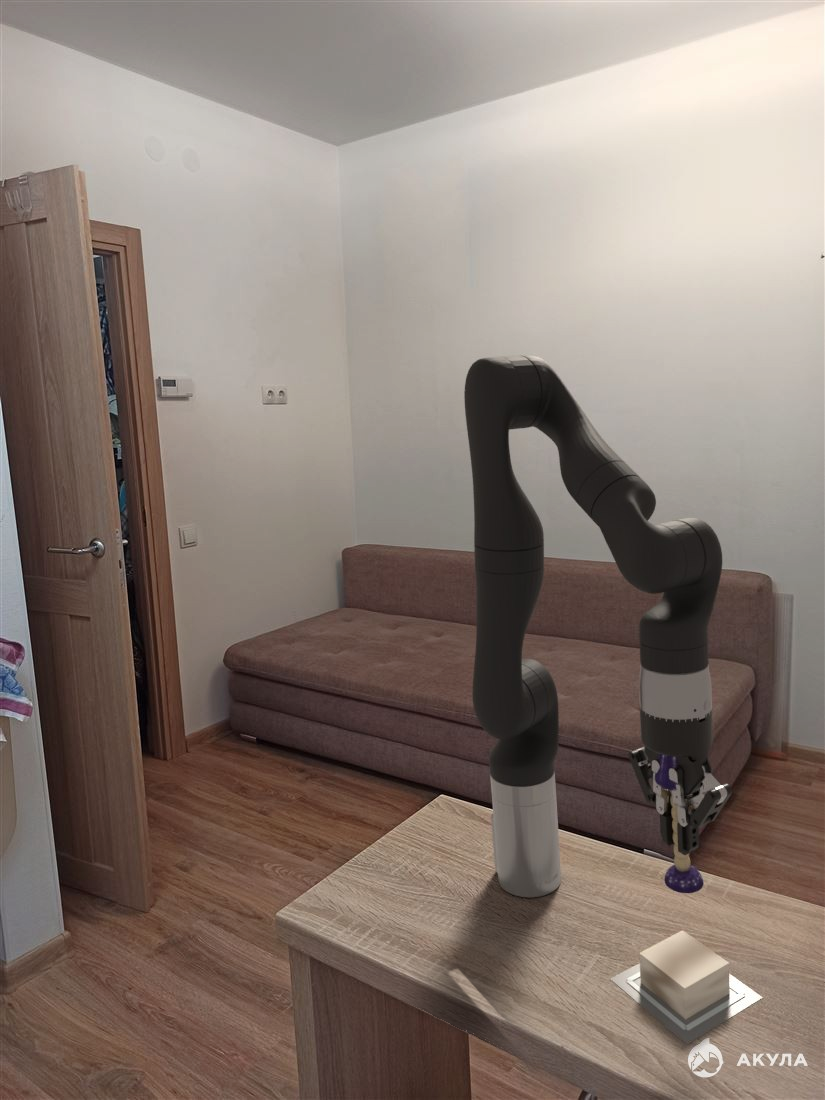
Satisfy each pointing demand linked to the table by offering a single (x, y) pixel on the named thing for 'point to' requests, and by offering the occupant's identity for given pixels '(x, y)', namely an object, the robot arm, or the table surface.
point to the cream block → (684, 974)
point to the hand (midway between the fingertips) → (679, 846)
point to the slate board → (698, 1022)
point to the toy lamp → (682, 872)
